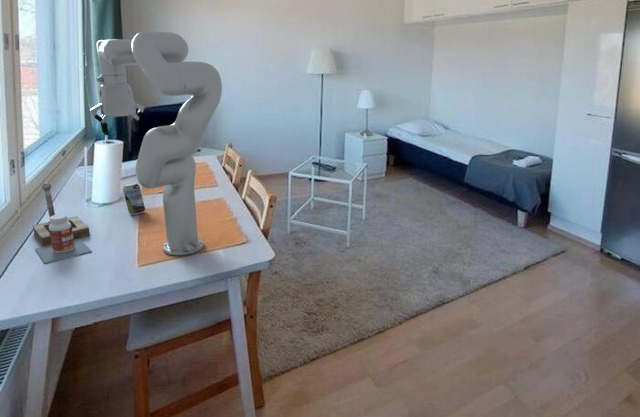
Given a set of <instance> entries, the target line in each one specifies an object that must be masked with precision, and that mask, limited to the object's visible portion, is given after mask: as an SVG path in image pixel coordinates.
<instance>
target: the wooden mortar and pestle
mask: <svg viewBox="0 0 640 417" xmlns="http://www.w3.org/2000/svg"><path fill="white" fill-rule="evenodd" d="M41 188H42V190H44V191H43V192H44V196H45V200H46V206H47V212H48V217H49V218H50V217H51V216H53V215H56V213H55V208H54V203H53V197H52V191H51V188H52V184H50V183H49V182H44V183H42V185H41ZM67 221H68V222H70V223H71V226H72V232H73V238H74V239H78V238H80V239H82V238H86V237H90V236H91V234H90V227H89V226H88V225H87V224H86V223H85V222H83V220H82V219H80V218H79V216H78V215H77V216H72V217H67ZM50 224H51V222H50V220H49V221H47V222H46V221H45V222H42V223H38V224H32V230H33V233H34V236H35V237H36V238H37V239H39V240H38V241H39V242H40V244H41V245H42V247H43V246H48V245H52V243H51V238H50V233H49V225H50Z"/></svg>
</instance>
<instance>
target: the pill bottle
mask: <svg viewBox="0 0 640 417" xmlns="http://www.w3.org/2000/svg"><path fill="white" fill-rule="evenodd" d="M67 218H68V216H67V214H62V213H60V214H58V213H57V214H55V215H53V216H51V217H49V221H50V222H51V224H50V225H49V233H50V238H51V243H52V249H53V251H54V252H56V253H65V252H69V251H71V250H73V249H74V248H75V243H74V238H73V232H72V226H71V223H70V222H68V221H67Z"/></svg>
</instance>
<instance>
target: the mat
mask: <svg viewBox="0 0 640 417" xmlns="http://www.w3.org/2000/svg"><path fill="white" fill-rule="evenodd" d="M74 243H75V248H74V249H73V250H71V251H69V252H65V253H56V252H54V251H53V249H52V245H48V246H44V247H43V246H41V247H35V248H34V250H35V251H36V253H37V255H38V256H39V257H40V259H41V260H42V262H43V264H44V265H46V263H47V264H50V263H54V262H58V261H62V260H67V259H71V258H74V257H77V256H82V255H85V254H89V253H92V250H91V249H90V248H89V247H88V245H87V244H86V243H85V242H84V241H83V240H82V238H78V239H74Z"/></svg>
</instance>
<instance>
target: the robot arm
mask: <svg viewBox="0 0 640 417" xmlns="http://www.w3.org/2000/svg"><path fill="white" fill-rule="evenodd" d="M96 51H97V52H96V53H97V57H98V64H99V65H98V66H99V72H100V75H99V77H96V82H100V83H101V84H100V85H99V103H98V104H97V105H95V106H93V107H92V108H90V109H89V112H90V114H91V115H92V117H93V118H94V119H96V120H97V121H98V122H99V123H100V129H101V133H102V134H103V135H104V136H109V135H110V134H109V127H108V123H107V120H108V119H109V118H115V117H116V118H118V117H119V118H120V117H129V116H130V118H132V119H131V127H132V131H133V132H135V133H139V129H140V127H139V126H140V125H139V120H140V118H141V117H142V116H143V113H144V110H145V106H144V105H142V104H140V103H137V102H135V99H134V98H135V97H134V95H133V90H132V86H131V85H130V84H128V81H127V80H128V79H127V72H126V66H139V68H140V69H141V70H142V72H143V73H144V75H145V76H146V77H147V79H148V80H149V83H150V84H151V85H152V86H153V88H154V89H155V90H156V91H157V92H158V93H159V94H160V95H162V96H165V97H179V96H180V97H181V96H190V97H189V98H188V100H187V99H186V101H185V102H184V103H183V104H182V106H181V107H180V108H179V111H178V113H177V116H176V119H175V121H174V122H173V123H172V124H170V125H161V126H157V127H153V128H150V129H149V130H148V131H147V132H146V133H145V135H144V136H143V138H142V141H141V145H140V149H139V152H138V155H137V156H138V157H137V159H136V164H135V176H136V181H137V183H138V184H140V186H142V187H143V188H146V189H156V188H160V187H164V189H163V193H162V205H163V213H164V214H163V215H164V216H163V217H164V222H165V223H164V225H165V232H166V233H165V234H166V241H165V242H164V244H163V245H162V251H163V253H165V254H168V255H171V256H187V255H193V254H195V253H197V252H199V251H201V250H202V249H203V248H204V241H203V240H202V239H201V238H199V236H198V235H199V234H198V232H199V231H198V223H197V222H198V221H197V211H196V210H197V209H196V196H195V180H196V171H197V169H196V168H197V166H196V161H195V158H194V155H195V154H196V153H198V151H199V149H200V147H201V145H202V142H203V140H204V137H205V135H206V132H207V130H208V126H209V124H210V121H211V120H212V118H213V116H214V115H215V112H216V110H217V108H219V104H220V102H221V98H222V93H223V85H222V84H223V83H222V78H221V75H220V73H219V71H218V69H217V68H216V67H215V66H214V65H212V64H210V63H208V62H204V61H203V62H202V61H185V60H186V58H187V57H188V54H189V46H188V43H187V41H186V40H185V39H184V38H183V37H182V36H181V35H180V34H177V33H174V32H169V31H168V32H167V31H141V32H138V33H136V35H134V37H133V39H123V38H122V39H121V38H119V39H118V38H116V39H113V38H111V39H104V40H103V39H100V40H98V41H97V42H96ZM136 108H137V109H138V111H137V109H136ZM98 111H100V112H101V115H98V113H97V112H98Z"/></svg>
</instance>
